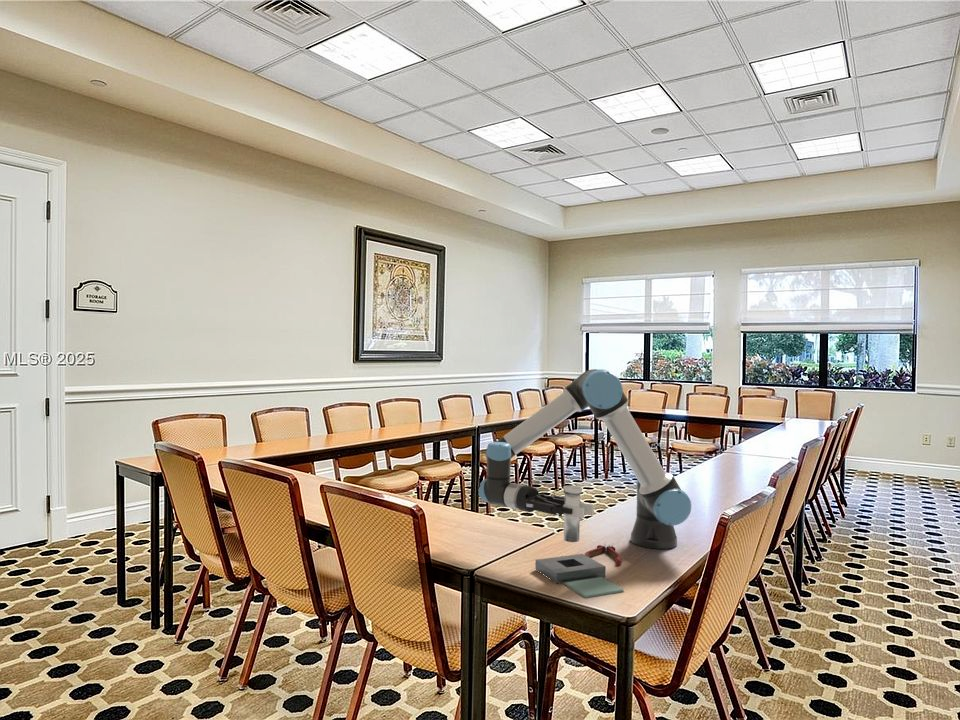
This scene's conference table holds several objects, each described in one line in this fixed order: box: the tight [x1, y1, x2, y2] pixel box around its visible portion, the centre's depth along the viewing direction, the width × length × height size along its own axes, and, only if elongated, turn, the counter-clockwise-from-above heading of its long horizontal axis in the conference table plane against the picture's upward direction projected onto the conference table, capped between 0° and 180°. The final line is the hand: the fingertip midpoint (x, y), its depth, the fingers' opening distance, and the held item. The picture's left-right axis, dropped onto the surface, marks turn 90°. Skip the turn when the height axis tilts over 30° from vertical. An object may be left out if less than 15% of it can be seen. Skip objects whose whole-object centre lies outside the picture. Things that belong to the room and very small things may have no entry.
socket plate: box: [534, 553, 607, 584], centre depth 177 cm, size 16×12×3 cm
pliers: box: [584, 541, 623, 567], centre depth 195 cm, size 12×20×3 cm, turn 162°
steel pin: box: [562, 485, 583, 543], centre depth 176 cm, size 5×5×15 cm
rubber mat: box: [564, 577, 624, 599], centre depth 166 cm, size 12×10×1 cm
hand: (588, 511), depth 173 cm, fingers closed on steel pin, 4 cm apart
